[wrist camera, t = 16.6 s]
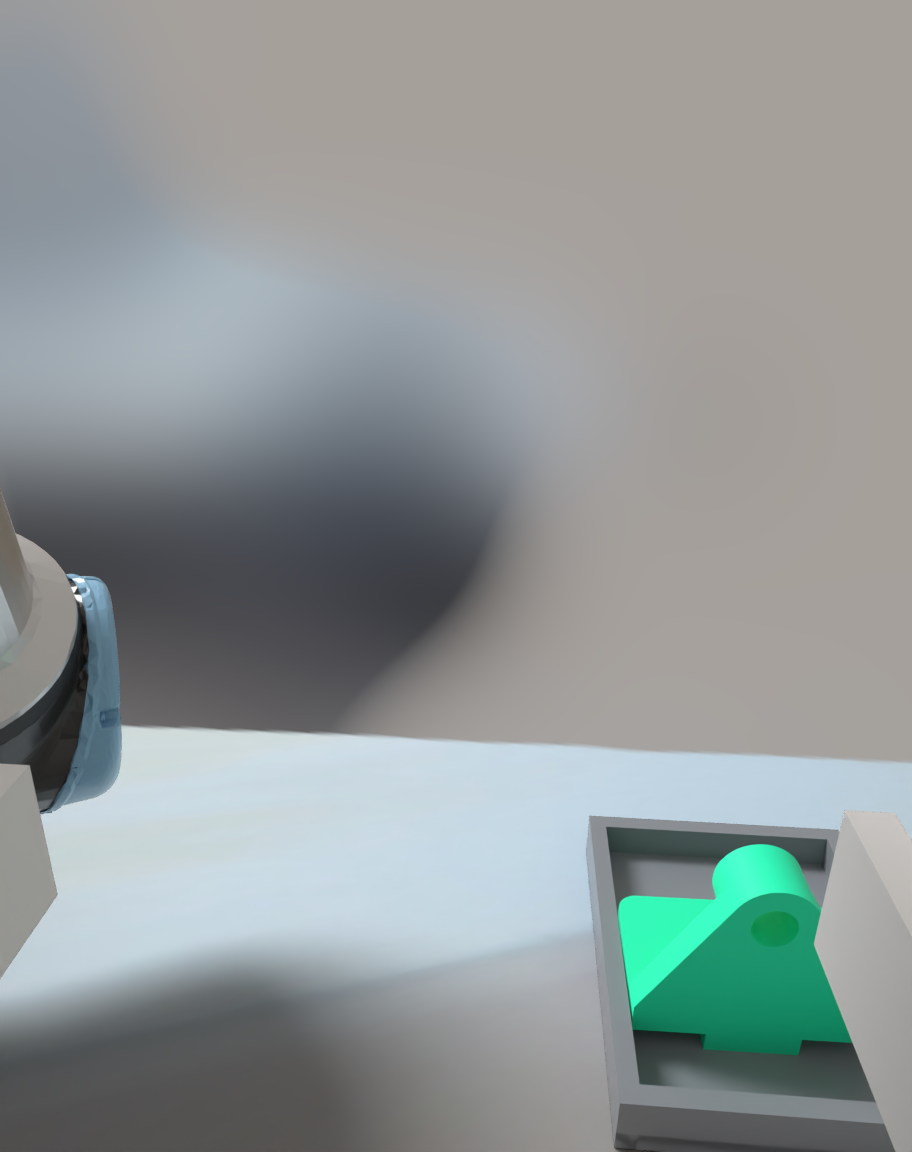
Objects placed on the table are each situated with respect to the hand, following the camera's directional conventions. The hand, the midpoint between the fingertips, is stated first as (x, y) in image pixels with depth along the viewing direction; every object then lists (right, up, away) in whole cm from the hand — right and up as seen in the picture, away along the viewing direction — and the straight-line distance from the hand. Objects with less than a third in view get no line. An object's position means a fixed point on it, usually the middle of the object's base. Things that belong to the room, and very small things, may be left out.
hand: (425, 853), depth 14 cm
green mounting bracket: (+15, -18, +33) cm, 40 cm away
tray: (+16, -18, +34) cm, 42 cm away
